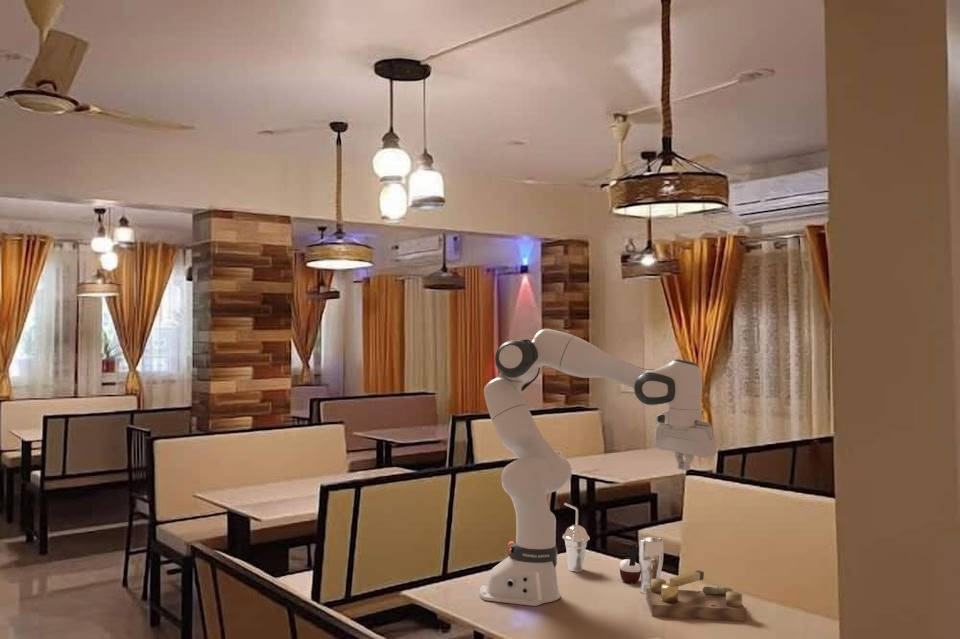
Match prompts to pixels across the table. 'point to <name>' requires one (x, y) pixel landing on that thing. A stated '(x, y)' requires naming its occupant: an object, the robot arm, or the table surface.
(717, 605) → the levelling base
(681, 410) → the robot arm
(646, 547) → the beer glass
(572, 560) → the cup with straw
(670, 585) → the lever handle
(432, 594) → the table surface
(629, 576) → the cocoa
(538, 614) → the table surface
